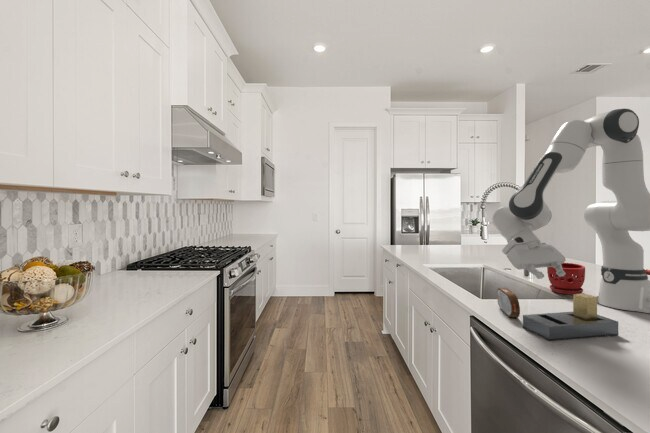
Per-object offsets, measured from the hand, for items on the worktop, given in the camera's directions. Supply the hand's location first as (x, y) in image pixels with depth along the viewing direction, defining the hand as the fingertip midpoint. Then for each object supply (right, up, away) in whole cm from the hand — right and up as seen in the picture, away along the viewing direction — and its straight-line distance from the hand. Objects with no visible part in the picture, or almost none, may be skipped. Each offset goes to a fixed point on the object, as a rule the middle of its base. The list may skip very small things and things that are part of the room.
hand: (552, 276), depth 104 cm
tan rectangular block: (+4, -14, -9) cm, 17 cm away
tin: (-10, -15, +8) cm, 20 cm away
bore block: (-2, -15, -9) cm, 17 cm away
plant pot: (+29, -13, +33) cm, 46 cm away
